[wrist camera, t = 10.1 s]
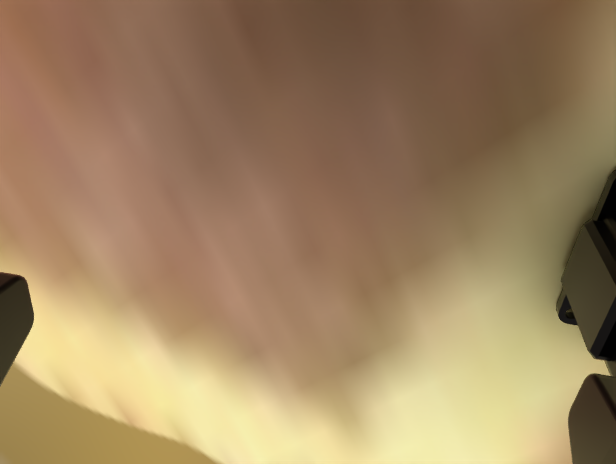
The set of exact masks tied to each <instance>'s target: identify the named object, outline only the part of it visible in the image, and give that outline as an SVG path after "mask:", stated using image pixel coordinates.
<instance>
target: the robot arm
mask: <svg viewBox="0 0 616 464" xmlns="http://www.w3.org/2000/svg"><path fill="white" fill-rule="evenodd" d="M561 282H562V285H563V287H564V288H563V291H562V293H561V295H560V298H559V300H558V303H557V305H556V311H557V313H558V316H559V319H560V320H561V321H562V322H564V323H567V324H572V325H578V326H579V329H580V331H581V334H582V337H583V339H584V342H585V344H586V347H587V350H588V351H589V353H590V354H591V355H592V357H593V358H594V359H598V360H604V361H605V363H606V366H607V368H608V371H609V373H610V375H611V376H607V375H601V374H590V375H588V376H587V377H586V378H585V380H584V382H583V384H582V386H581V388H580V390H579V392H578V394H577V396H576V398H575V400H574V402H573V404H572V406H571V409H570V412H569V417H568V428H569V436H570V445H571V454H572V463H573V464H616V170H615V171H613V172H612V174H611V175H610V177H609V179H608V181H607V184H606V186H605V189H604V191H603V193H602V196H601V198H600V201H599V203H598V206H597V208H596V210H595V213H594V215H593V218H592V220H589V221H588V222H586V223H585V224H584V225H583V226H582V228H581V231H580V233H579V236H578V238H577V241H576V243H575V246H574V248H573V250H572V253H571V255H570V258H569V260H568V263H567V265H566V268H565V270H564V273H563V275H562V278H561ZM569 309H572V311H573V312H566V311H567V310H569ZM33 321H34V312H33V307H32V303H31V298H30V293H29V288H28V284H27V281H26V280H25V278H24V277H22V276H20V275H15V274H9V273H3V272H0V386H1V384H2V382H3V381H4V379H5V377H6V375H7V373H8V371H9V369H10V367H11V366H12V364H13V362H14V360H15V358H16V356H17V354H18V353H19V351H20V349H21V347H22V345H23V343H24V341H25V340H26V338H27V336H28V334H29V332H30V330H31V328H32V325H33Z"/></svg>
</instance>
